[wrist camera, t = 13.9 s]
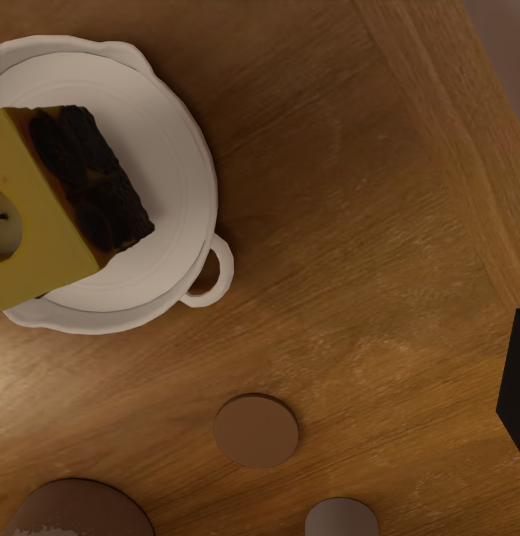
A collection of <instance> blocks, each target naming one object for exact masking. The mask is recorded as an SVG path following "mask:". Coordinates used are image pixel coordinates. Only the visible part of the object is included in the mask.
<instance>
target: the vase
mask: <svg viewBox="0 0 520 536" xmlns="http://www.w3.org/2000/svg"><path fill="white" fill-rule="evenodd" d="M0 536H154V532H153V529H152V527H151V525H150V523H149V521H148V519H147V517H146V516H145V514H144V513H143V512H142V511H141V509H140V508H139V507H138V506H137V505H136V504H135V503H134V502H132V501H131V500H130V499H129V498H127V497H126V496H125V495H123V494H122V493H120V492H118V491H116V490H114V489H112V488H110V487H108V486H106V485H103V484H100V483H96V482H93V481H88V480H80V479H66V480H59V481H55V482H51V483H48V484H46V485H44V486H42V487H40V488H38V489H37V490H35V491H34V492H33V493H32V494H30V495H29V496H28V498H27V499H26V500H25V501H24V502H23V503H22V505H21V506H20V507H19V509H18V510H17V511H16V513H15V514H14V516H13V517H12V518H11V520H10V521H9V523H8V524H7V525H6V527H5V528H4V530H3V531H2V532H1V534H0Z"/></svg>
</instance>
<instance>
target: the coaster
mask: <svg viewBox="0 0 520 536" xmlns="http://www.w3.org/2000/svg"><path fill="white" fill-rule="evenodd" d="M214 436H215V440H216V442H217V445H218V446H219V448H220V450H221V451H222V452H223V453H224V454H225V455H226V456H227V457H228V458H229V459H231V460H232V461H234V462H235V463H237V464H240V465H242V466H245V467H249V468H259V469H261V468H269V467H273V466H276V465H278V464H281V463H282V462H284V461H285V460H287V459H288V458H289V457H290V456H291V455H292V453H293V452H294V451H295V449H296V447H297V444H298V439H299V427H298V423H297V420H296V418H295V416H294V414H293V413H292V411H291V410H290V409H289V408H288V407H287V406H286V405H285V404H284V403H282V402H281V401H279V400H278V399H276V398H274V397H271V396H268V395H264V394H257V393H251V394H244V395H240V396H237V397H235V398H233V399H231V400H229V401H228V402H227V403H226V404H224V405H223V407H222V408H221V409H220V411H219V412H218V414H217V417H216V420H215V424H214Z"/></svg>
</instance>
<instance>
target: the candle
mask: <svg viewBox="0 0 520 536" xmlns="http://www.w3.org/2000/svg"><path fill="white" fill-rule="evenodd" d="M154 231H155V224H153V223H152V222H151V221H150V220H149V216H148V214H147V211H146V210H145V209H144V208H143V206H142V204H141V200H140V197H139V195H138V194H137V193H136V191H135V190H134V188H133V186H132V184H131V182H130V180H129V178H128V176H127V174H126V173H125V171H124V170H123V169H122V167H121V166H120V165H119V160H118V159H117V158H116V157H115V155H114V153H113V150H112V149H111V148H110V147H109V146H108V144H107V142H106V140H105V139H104V137H103V136H102V134H101V133H100V131H99V129H98V127H97V126H96V122H95V119H94V115H92V114H91V113H90V112H89V111H88V109H87V108H86V107H84V106H79V107H78V106H76V105H66V106H64V105H59V106H51V107H36V108H34V109H32V110H31V109H29V108H27V107H24V108H16V107H2V108H0V312H1V311H4V310H7V309H10V308H13V307H15V306H17V305H19V304H21V303H24V302H26V301H28V300H30V299H33V298H34V299H40V298H42V297H43V296H44V295H46V294H47V293H49V292H50V291H52V290H55V289H57V288H60V287H63V286H66V285H70V284H72V283H74V282H77V281H79V280H81V279H84V278H86V277H89V276H91V275H94V274H96V273H97V272H99V271H101V270H102V269H103V268H104V267H106V266H107V264H108V263H109V261H110V260H111V259H112V258H113V257H114V256H115V255H116V254H118V253H120V252H124V251H126V250H127V249H128V248H132V247H133V245H135V244H137V243H139V242H140V240H141V239H143V238H145V237H146V236H148V235H149V234H152V232H154Z"/></svg>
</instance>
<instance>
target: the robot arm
mask: <svg viewBox="0 0 520 536" xmlns="http://www.w3.org/2000/svg"><path fill="white" fill-rule="evenodd" d="M496 413H497V414H498V416H499V418H500V419H501V421H502V423H503V424H504V426H505V428H506V429H507V431H508V433H509V435H510V436H511V438H512V440H513V441H514V443H515V445H516V446H517V448H518V450H519V451H520V309H517V308H516V312H515V317H514V322H513V327H512V332H511V337H510V342H509V347H508V352H507V357H506V362H505V367H504V372H503V377H502V382H501V387H500V392H499V397H498V402H497V407H496Z"/></svg>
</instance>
